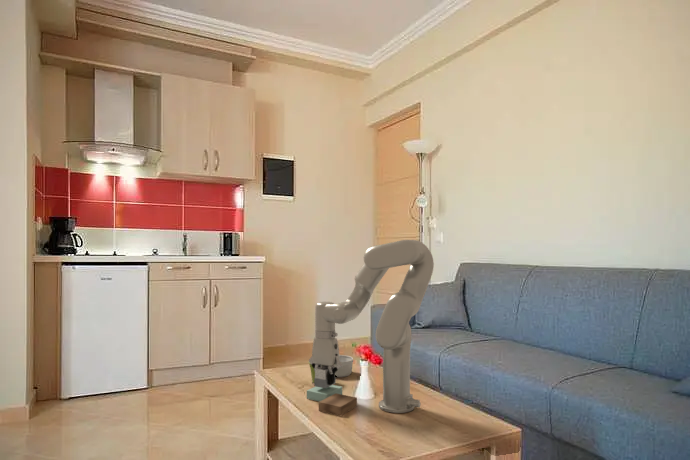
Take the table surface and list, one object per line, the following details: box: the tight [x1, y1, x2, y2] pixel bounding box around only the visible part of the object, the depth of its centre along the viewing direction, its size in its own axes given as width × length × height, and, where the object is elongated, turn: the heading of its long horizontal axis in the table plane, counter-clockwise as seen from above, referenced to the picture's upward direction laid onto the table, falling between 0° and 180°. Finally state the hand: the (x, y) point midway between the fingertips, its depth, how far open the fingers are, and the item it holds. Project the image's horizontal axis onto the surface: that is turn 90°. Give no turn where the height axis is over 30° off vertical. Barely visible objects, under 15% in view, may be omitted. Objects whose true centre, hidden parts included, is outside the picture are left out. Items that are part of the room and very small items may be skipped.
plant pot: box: [307, 361, 315, 384], centre depth 193 cm, size 9×9×9 cm
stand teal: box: [306, 384, 343, 402], centre depth 175 cm, size 9×11×3 cm
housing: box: [313, 365, 336, 388], centre depth 175 cm, size 5×7×7 cm
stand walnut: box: [318, 393, 358, 417], centre depth 162 cm, size 9×11×3 cm
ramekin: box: [335, 354, 354, 378], centre depth 206 cm, size 13×13×7 cm
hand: (325, 382), depth 175 cm, fingers closed on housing, 5 cm apart
